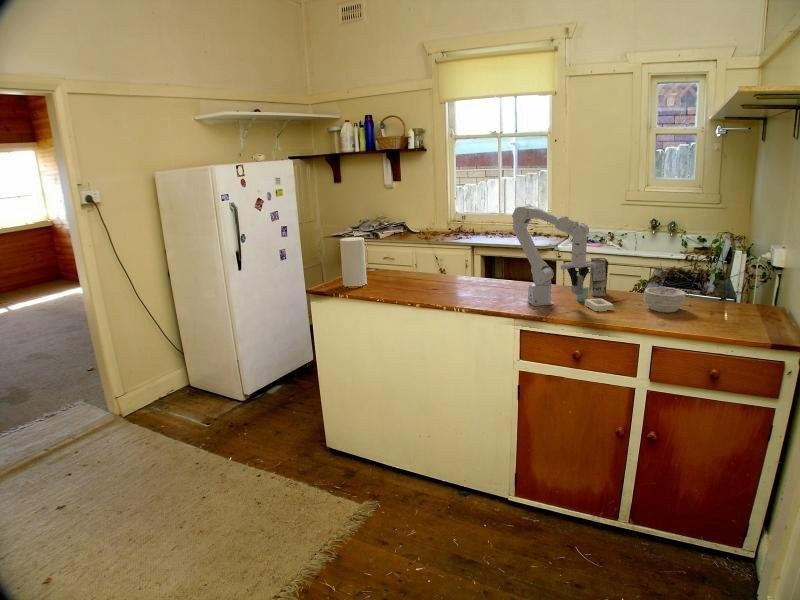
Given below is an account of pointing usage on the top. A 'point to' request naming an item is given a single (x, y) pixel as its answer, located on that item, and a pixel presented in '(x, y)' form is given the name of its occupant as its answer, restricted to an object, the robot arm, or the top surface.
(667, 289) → the light grey bowl
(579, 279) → the bar
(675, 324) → the top surface
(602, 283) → the coffee box
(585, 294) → the grey upright block
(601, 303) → the slot plate
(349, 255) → the cylinder
